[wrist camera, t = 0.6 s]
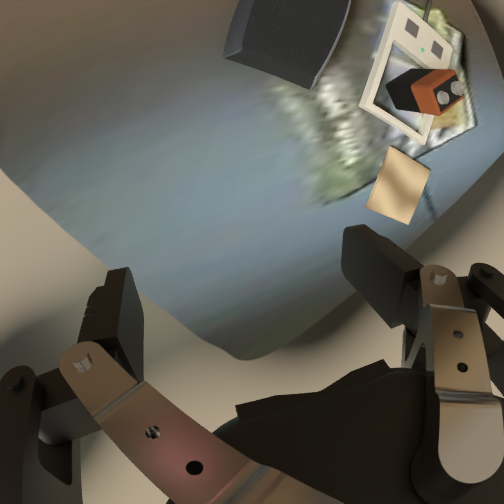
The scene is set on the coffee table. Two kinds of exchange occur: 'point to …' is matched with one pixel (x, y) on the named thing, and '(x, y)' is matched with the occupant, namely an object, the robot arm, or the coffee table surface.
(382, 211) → the cork pad
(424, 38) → the charging dock
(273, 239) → the coffee table surface
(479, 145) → the coffee table surface
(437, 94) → the battery
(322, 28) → the external hard drive
